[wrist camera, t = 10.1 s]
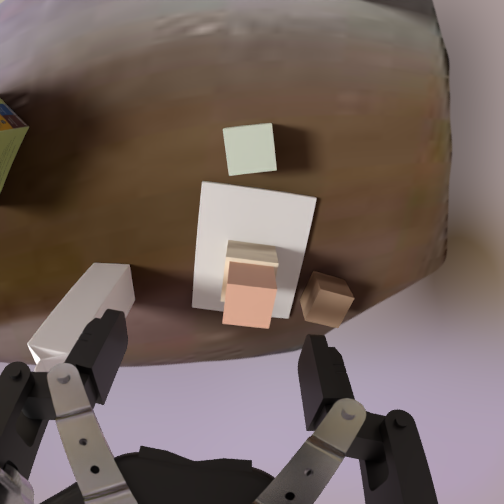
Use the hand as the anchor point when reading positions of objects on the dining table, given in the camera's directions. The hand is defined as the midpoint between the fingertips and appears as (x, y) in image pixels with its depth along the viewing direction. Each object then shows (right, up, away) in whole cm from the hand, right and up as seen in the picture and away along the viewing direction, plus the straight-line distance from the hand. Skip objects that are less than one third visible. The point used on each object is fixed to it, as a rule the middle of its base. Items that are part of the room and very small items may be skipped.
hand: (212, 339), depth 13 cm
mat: (+1, +3, +28) cm, 28 cm away
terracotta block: (+1, 0, +23) cm, 23 cm away
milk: (-18, 0, +30) cm, 35 cm away
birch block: (+1, +2, +28) cm, 28 cm away
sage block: (+1, +16, +22) cm, 28 cm away
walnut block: (+12, -2, +31) cm, 33 cm away
